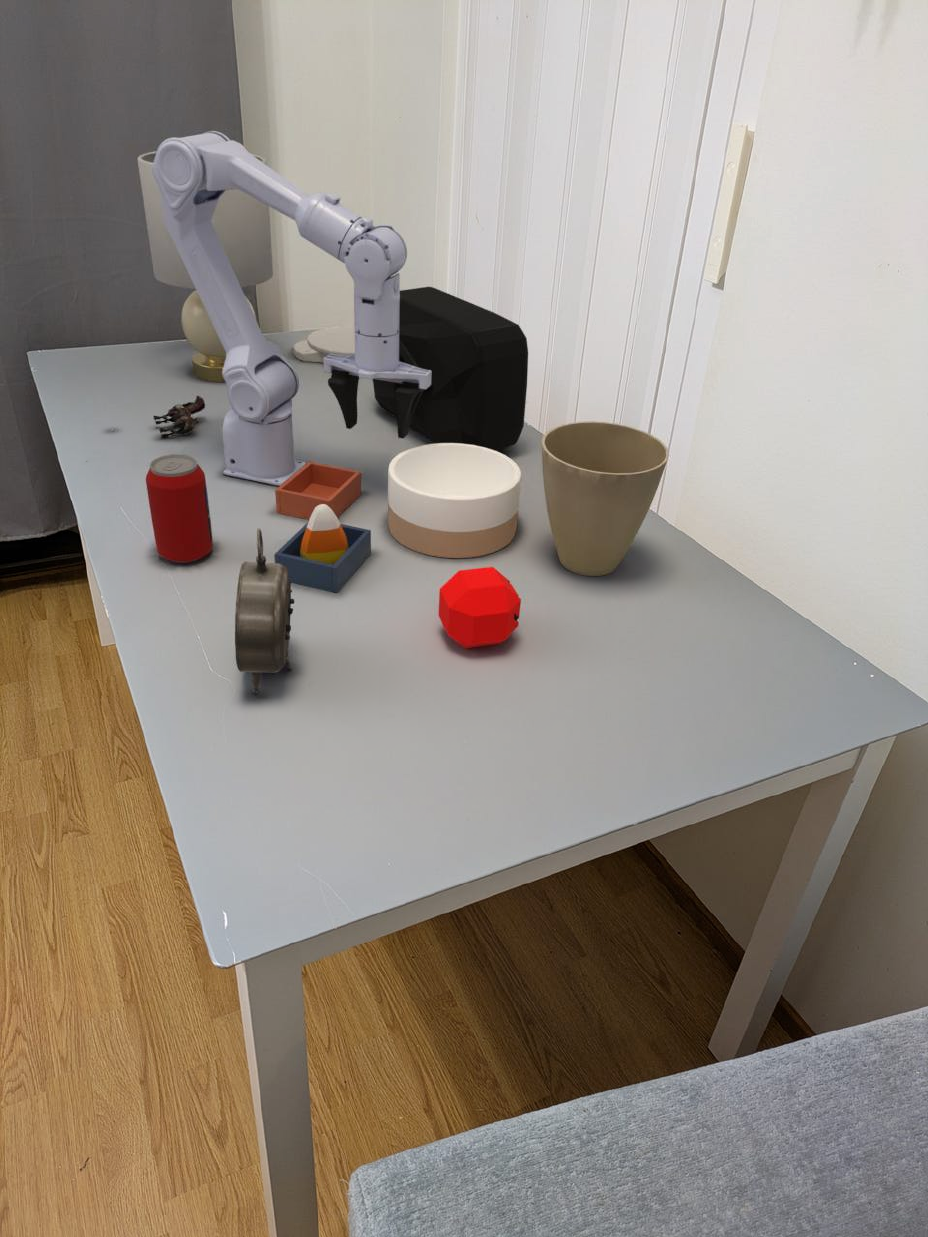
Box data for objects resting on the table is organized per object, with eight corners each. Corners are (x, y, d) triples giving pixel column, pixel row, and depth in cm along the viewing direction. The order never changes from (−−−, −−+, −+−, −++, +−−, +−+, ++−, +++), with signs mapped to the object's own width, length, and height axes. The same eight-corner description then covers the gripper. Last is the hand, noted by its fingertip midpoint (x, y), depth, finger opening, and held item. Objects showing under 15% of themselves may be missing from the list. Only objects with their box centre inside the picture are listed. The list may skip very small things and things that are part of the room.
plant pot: (509, 543, 119) (520, 428, 110) (608, 527, 124) (625, 415, 116) (564, 603, 108) (581, 480, 99) (669, 582, 113) (694, 463, 104)
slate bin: (276, 578, 109) (274, 554, 107) (313, 541, 117) (312, 517, 115) (337, 592, 107) (336, 568, 106) (371, 553, 115) (371, 530, 113)
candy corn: (346, 554, 114) (345, 496, 110) (351, 566, 112) (350, 507, 107) (298, 559, 113) (295, 500, 108) (302, 571, 110) (299, 512, 106)
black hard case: (522, 456, 143) (534, 327, 131) (459, 473, 136) (466, 339, 125) (413, 395, 162) (415, 278, 151) (353, 407, 156) (351, 287, 145)
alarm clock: (249, 638, 99) (236, 504, 90) (300, 638, 99) (292, 504, 90) (237, 703, 90) (221, 560, 81) (293, 702, 90) (283, 561, 81)
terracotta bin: (276, 512, 123) (275, 489, 121) (310, 483, 131) (309, 461, 129) (330, 524, 121) (329, 501, 119) (361, 493, 129) (361, 471, 127)
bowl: (421, 569, 113) (423, 509, 108) (367, 509, 125) (367, 453, 120) (540, 543, 120) (546, 485, 115) (478, 489, 132) (481, 434, 127)
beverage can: (224, 546, 115) (214, 457, 108) (194, 571, 110) (182, 480, 103) (178, 535, 117) (165, 447, 110) (146, 559, 111) (131, 469, 105)
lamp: (175, 353, 174) (149, 146, 155) (282, 354, 177) (270, 151, 157) (158, 390, 158) (126, 164, 138) (276, 391, 160) (261, 169, 140)
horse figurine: (125, 464, 139) (220, 433, 143) (116, 442, 137) (213, 411, 141) (114, 436, 145) (205, 407, 149) (105, 414, 142) (198, 385, 146)
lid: (291, 340, 184) (290, 325, 182) (390, 339, 188) (390, 324, 186) (296, 369, 170) (295, 353, 168) (402, 367, 174) (403, 351, 172)
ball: (522, 652, 99) (529, 593, 95) (452, 662, 97) (455, 601, 93) (499, 612, 106) (504, 555, 101) (433, 620, 104) (435, 562, 99)
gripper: (311, 330, 115) (315, 431, 123) (418, 347, 112) (416, 450, 119) (335, 316, 121) (338, 414, 128) (438, 331, 117) (435, 431, 125)
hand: (377, 430), depth 124 cm, fingers open, 7 cm apart
